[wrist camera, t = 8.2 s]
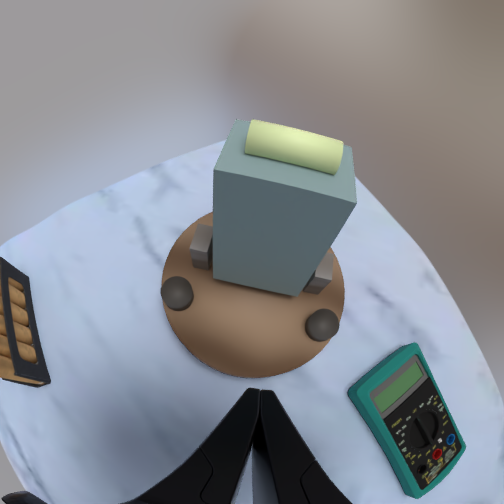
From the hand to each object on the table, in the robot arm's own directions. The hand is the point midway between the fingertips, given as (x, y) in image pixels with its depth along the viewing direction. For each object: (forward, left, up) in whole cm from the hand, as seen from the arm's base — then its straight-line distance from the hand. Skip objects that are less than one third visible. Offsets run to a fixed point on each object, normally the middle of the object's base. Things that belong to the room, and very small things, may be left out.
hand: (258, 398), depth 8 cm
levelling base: (+7, +6, -12) cm, 15 cm away
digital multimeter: (+9, -13, -13) cm, 21 cm away
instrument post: (+7, +6, -10) cm, 13 cm away
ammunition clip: (-13, +14, -13) cm, 23 cm away
